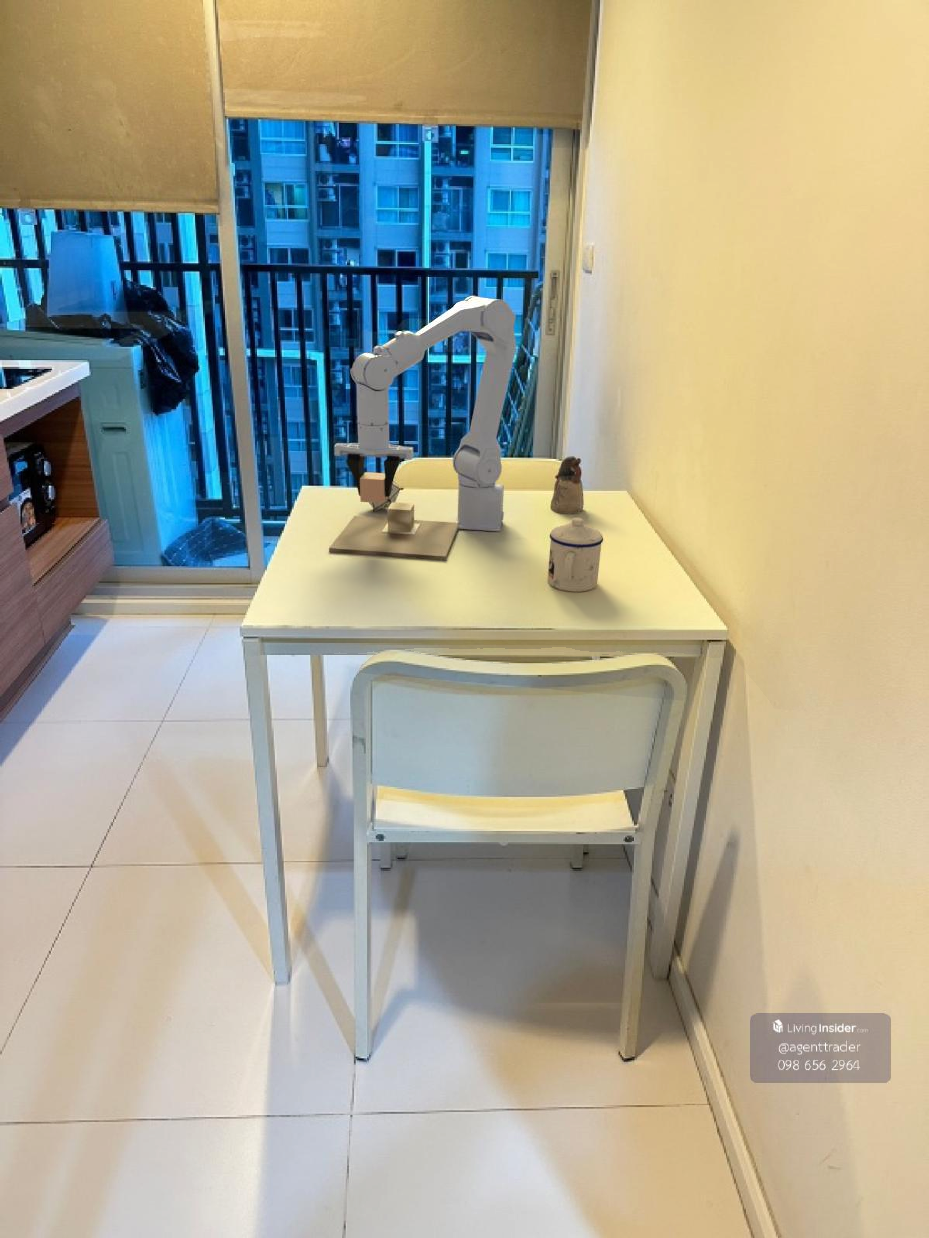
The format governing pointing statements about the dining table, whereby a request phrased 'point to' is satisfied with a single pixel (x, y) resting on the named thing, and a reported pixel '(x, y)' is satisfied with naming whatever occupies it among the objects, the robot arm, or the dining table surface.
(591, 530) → the teacup with lid
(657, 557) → the dining table surface
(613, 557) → the dining table surface
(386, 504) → the game die
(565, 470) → the figurine
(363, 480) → the terracotta block
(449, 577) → the dining table surface
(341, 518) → the dining table surface
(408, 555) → the brown wooden board
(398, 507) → the birch block
